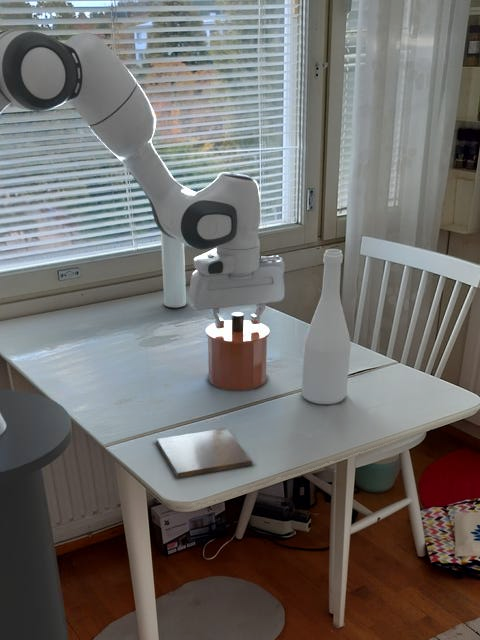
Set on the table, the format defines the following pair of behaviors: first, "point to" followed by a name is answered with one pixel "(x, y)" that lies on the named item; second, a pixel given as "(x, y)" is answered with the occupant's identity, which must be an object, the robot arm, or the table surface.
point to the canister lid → (238, 331)
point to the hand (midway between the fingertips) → (237, 325)
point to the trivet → (203, 452)
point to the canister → (237, 364)
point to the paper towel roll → (173, 271)
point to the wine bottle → (327, 341)
